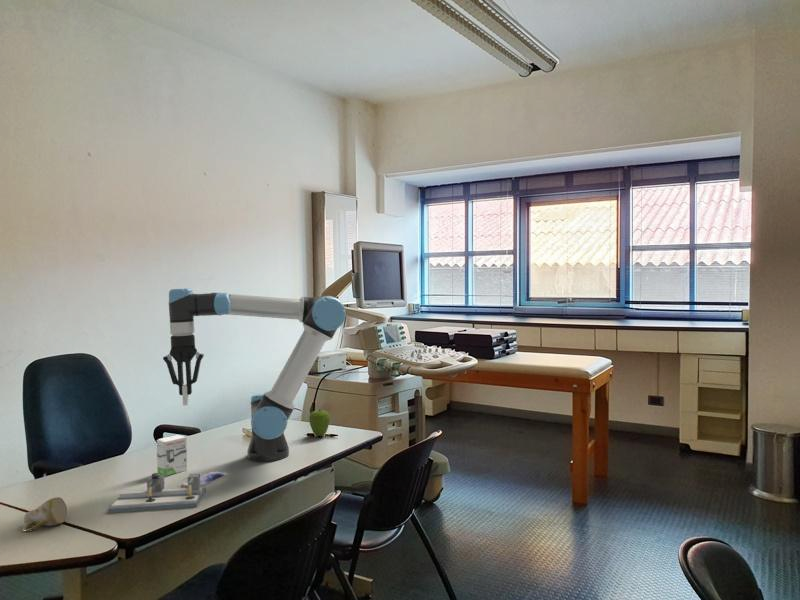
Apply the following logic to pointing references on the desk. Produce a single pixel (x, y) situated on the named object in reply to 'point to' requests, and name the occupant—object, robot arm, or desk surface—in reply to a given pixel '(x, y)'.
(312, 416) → the apple
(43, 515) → the beige tapered chunky piece
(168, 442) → the ink box
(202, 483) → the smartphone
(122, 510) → the board
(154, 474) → the sliding leg
